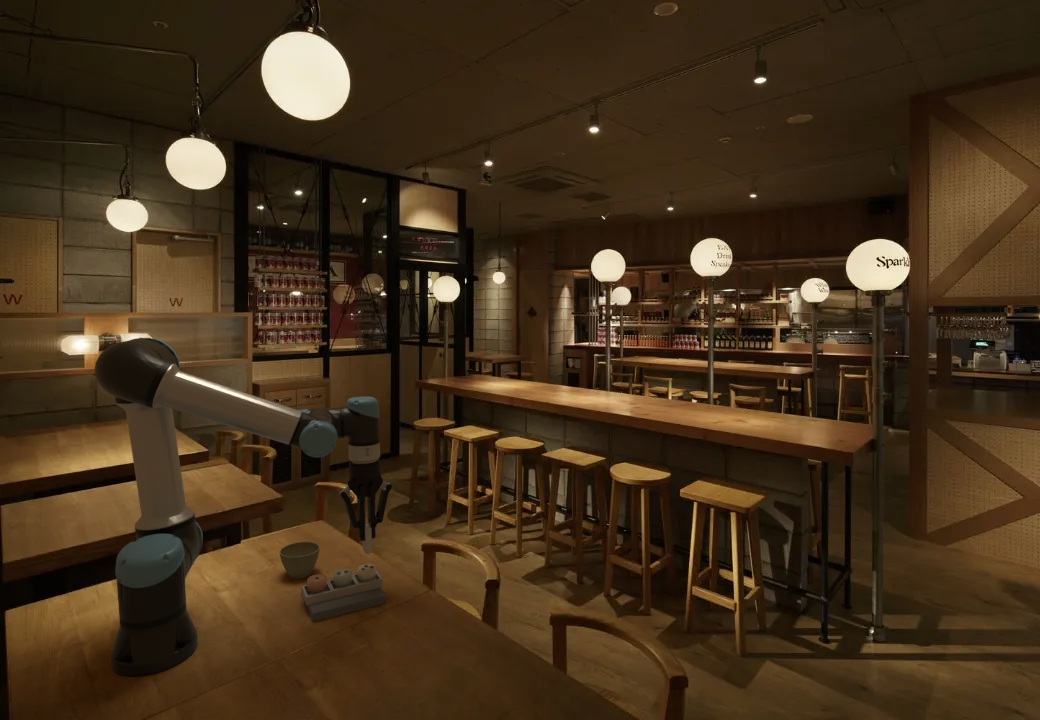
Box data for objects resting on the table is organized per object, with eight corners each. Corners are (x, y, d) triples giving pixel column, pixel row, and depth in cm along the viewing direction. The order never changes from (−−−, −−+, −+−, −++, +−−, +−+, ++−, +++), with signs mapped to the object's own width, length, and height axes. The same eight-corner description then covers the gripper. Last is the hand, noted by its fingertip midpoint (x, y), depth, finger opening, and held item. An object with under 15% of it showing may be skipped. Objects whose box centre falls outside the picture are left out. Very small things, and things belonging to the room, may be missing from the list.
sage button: (335, 588, 139) (335, 577, 139) (331, 580, 143) (331, 570, 143) (353, 584, 142) (353, 573, 141) (349, 576, 145) (349, 566, 145)
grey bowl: (307, 585, 149) (306, 558, 148) (272, 581, 151) (271, 555, 150) (327, 568, 159) (326, 542, 158) (294, 564, 161) (293, 539, 160)
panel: (310, 622, 132) (309, 606, 131) (299, 593, 145) (298, 578, 144) (388, 602, 141) (388, 586, 140) (371, 576, 154) (370, 562, 153)
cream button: (360, 582, 142) (360, 572, 142) (355, 575, 146) (355, 565, 146) (378, 578, 144) (377, 568, 144) (373, 571, 148) (372, 561, 148)
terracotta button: (309, 594, 136) (309, 583, 136) (306, 586, 140) (305, 576, 140) (328, 590, 139) (328, 579, 138) (324, 582, 142) (324, 571, 142)
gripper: (341, 467, 136) (344, 563, 138) (395, 459, 142) (397, 551, 145) (334, 459, 142) (337, 551, 145) (386, 452, 149) (388, 540, 151)
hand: (367, 551), depth 145 cm, fingers closed
